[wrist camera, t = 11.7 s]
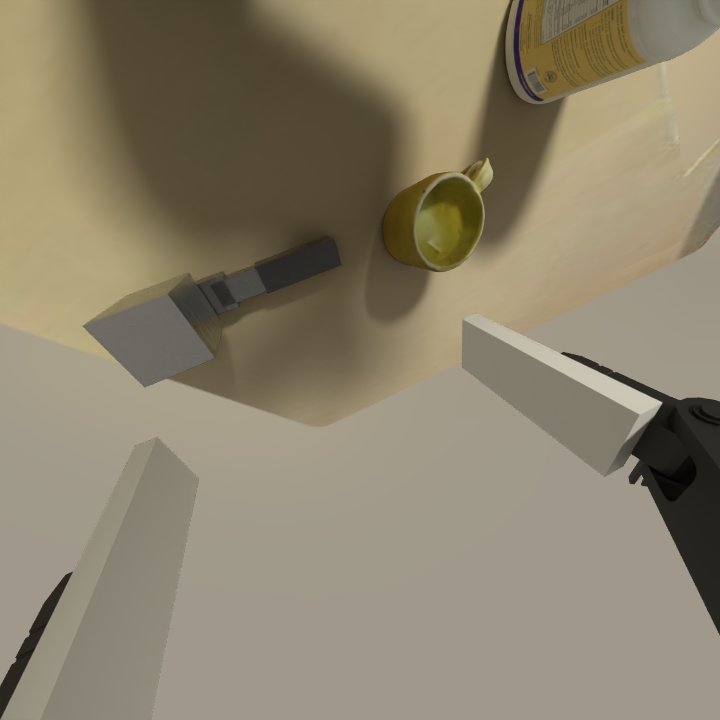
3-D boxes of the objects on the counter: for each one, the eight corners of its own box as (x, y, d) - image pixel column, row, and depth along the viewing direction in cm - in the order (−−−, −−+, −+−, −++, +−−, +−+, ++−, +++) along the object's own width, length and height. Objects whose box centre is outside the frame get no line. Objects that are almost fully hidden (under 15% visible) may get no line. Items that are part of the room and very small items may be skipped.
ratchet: (324, 226, 30) (340, 229, 25) (338, 270, 33) (355, 281, 28) (142, 291, 27) (116, 311, 22) (175, 333, 30) (159, 359, 25)
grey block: (126, 295, 25) (82, 326, 18) (189, 272, 26) (167, 294, 19) (169, 346, 28) (144, 387, 22) (223, 324, 29) (214, 358, 23)
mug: (407, 295, 36) (452, 284, 26) (358, 232, 33) (390, 195, 23) (465, 237, 37) (527, 208, 28) (423, 173, 34) (478, 115, 25)
